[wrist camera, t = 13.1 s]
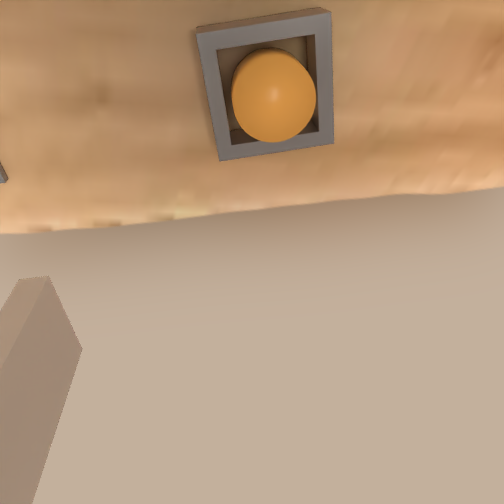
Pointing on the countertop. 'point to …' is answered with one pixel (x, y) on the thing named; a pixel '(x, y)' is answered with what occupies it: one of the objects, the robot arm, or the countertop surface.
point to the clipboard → (2, 175)
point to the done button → (272, 95)
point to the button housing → (264, 30)
